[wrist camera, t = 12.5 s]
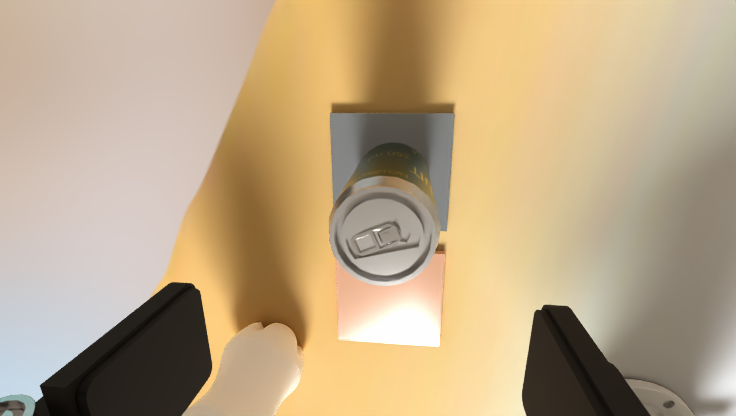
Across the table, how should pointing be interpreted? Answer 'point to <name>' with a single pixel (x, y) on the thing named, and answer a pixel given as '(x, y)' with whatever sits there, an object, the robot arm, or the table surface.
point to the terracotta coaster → (392, 307)
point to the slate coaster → (412, 129)
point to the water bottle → (253, 373)
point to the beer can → (386, 217)
